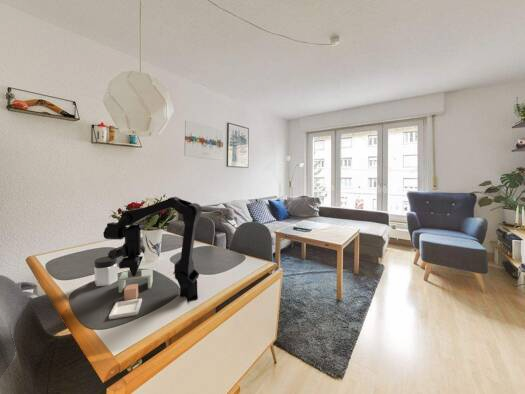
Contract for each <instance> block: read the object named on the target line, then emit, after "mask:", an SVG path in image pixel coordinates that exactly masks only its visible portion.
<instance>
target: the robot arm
mask: <svg viewBox="0 0 525 394" xmlns="http://www.w3.org/2000/svg"><path fill="white" fill-rule="evenodd" d="M168 209H173V210H174V211H175V212H177V214H180V215H182V222H183V223H184V231H183V236H182V237H183V238H182V245H181V252H180V259H179V260H178V261H177V262H175V263H174V268H173V269H174V271H173V273H172V274H173V275H174V279H176V281H177V283H178V285H179V297H180V298H186V301H194V300H198V298H199V296H198V278H199V276H200V272H198V271H197V269H196V268H195V265H194V264H195V263H194V260H193V253H194V245H195V244H194V243H195V236H196V229H197V224H198V223H199V221H200V217H201V214H202V211H203V209H202V207H201V205H200V204H199V203H196V202H192V201H191V202H190V201H188V200H185V199H182V198H179V197H177V196H172V197H168V198H167V199H165V200H161V201H159V202H156V203H153V204H151V205H148V206H145V207H140V208H133V209H130V210H125V211H123V212H122V213H121V216H120V218H119V220H118V222H117V223H116V222H108V223H106V226H105V228H104V231H103V235H102V236H103V238H104V239H106V240H120V241H121V240H123V239H124V243H123V244H122V245H120V246H118V247H115V248H113V249H110V250H109V252H107V256H108V258H110V259H111V260H114V259H115V258H116V259H118V258H119V257H122V259H121V260H120V261H119V262H118V269H120V270H122V269H129V271H131V274H132V276H135V275H136V273H137V270H139V268H140V265H141V262H142V260H143V257H144V256H141V254H145V253H146V247H145V246H144V245H142V242H143V241H142V238H141V235H142V234H141V232H142V231H141V230H144V229H147V227H146V225H144V224H143V223H142V222H141V221H143V220H145V219H146V218H148V217H150V216H151V215H154V214H156V213H160V212H162V211H165V210H168ZM136 223H137V224H136Z"/></svg>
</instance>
